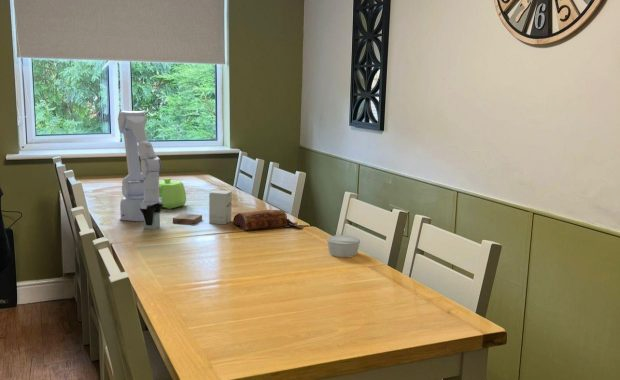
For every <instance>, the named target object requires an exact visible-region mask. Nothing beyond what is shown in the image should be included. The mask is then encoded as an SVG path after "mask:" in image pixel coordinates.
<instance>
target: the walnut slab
mask: <svg viewBox="0 0 620 380" xmlns="http://www.w3.org/2000/svg"><path fill="white" fill-rule="evenodd" d="M201 221H203V214H194V213H193V214H192V213H180V214H177V215H176V216H173V218H172V223H173V224H182V225H184V224H185V225H197V224H198V223H199V222H201Z"/></svg>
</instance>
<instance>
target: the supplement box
mask: <svg viewBox="0 0 620 380" xmlns="http://www.w3.org/2000/svg"><path fill="white" fill-rule="evenodd" d="M232 197H233V192H232V190H218V189H217V190H213V191H211V192H209V197H208V199H209V201H208V202H209V203H208V205H209V206H208V208H209V210H208V211H209V212H208V213H209V214H208V224H215V225H216V224H218V225H226V224H228V223H230V222H231V221H232V204H233V203H232V202H233V201H232V199H233V198H232Z"/></svg>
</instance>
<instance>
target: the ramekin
mask: <svg viewBox="0 0 620 380" xmlns="http://www.w3.org/2000/svg"><path fill="white" fill-rule="evenodd" d="M326 241H327V246H328V253H329V254H330V255H331V256H332V255H334V256H333V257H335V256H339V257H338V258H342V257H348V258H350V257H349V256H354V255H355V256H357V254H358V252H359V246H360V244H361V239H360V238H358V237H356V236H352V235H338V234H337V235H331V236H329V237H327V239H326ZM355 256H354V257H355Z"/></svg>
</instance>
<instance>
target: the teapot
mask: <svg viewBox="0 0 620 380" xmlns="http://www.w3.org/2000/svg"><path fill="white" fill-rule="evenodd" d="M159 197H162V203H159V204H163V207H162V208H166V210H167V209H169V210H171V209H174V208H178V207H181V206H184V205H185V204H186V203H187V192H186V189H185V186H184V183H183V182H182V181H181V180H177V181H173V180H172V178H169V177H166V178H164V179H163V180H159Z"/></svg>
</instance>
